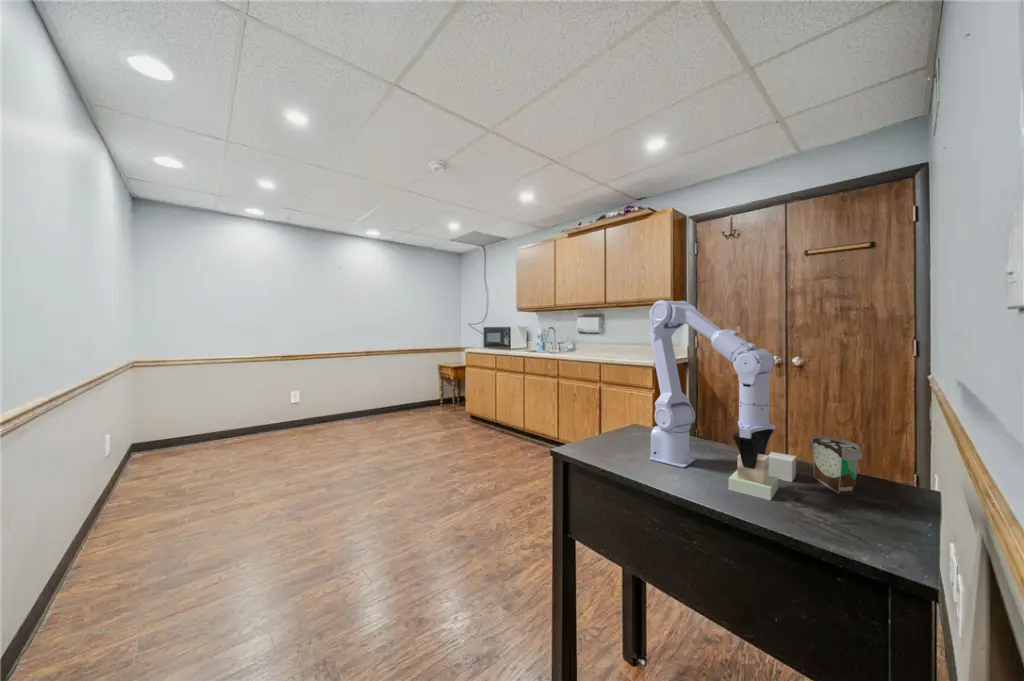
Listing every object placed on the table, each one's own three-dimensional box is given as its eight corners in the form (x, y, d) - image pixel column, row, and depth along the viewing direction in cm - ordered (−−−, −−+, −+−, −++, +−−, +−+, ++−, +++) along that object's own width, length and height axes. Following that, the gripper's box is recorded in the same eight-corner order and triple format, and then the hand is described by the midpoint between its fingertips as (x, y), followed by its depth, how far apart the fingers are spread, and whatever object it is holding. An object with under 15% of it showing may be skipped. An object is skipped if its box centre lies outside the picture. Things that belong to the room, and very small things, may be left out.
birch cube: (737, 478, 85) (737, 456, 85) (743, 471, 89) (743, 450, 89) (763, 484, 82) (763, 461, 82) (768, 477, 86) (768, 455, 85)
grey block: (766, 476, 93) (766, 456, 92) (771, 471, 96) (771, 451, 96) (791, 482, 89) (792, 461, 89) (795, 476, 93) (795, 456, 92)
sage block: (728, 491, 86) (728, 478, 85) (738, 480, 91) (738, 468, 91) (770, 502, 80) (770, 488, 80) (778, 490, 86) (778, 477, 86)
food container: (877, 499, 80) (878, 452, 79) (843, 497, 81) (844, 451, 80) (839, 476, 92) (839, 436, 91) (810, 475, 93) (810, 435, 93)
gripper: (767, 411, 77) (767, 476, 77) (781, 400, 87) (781, 459, 88) (728, 406, 82) (728, 468, 82) (746, 397, 92) (746, 452, 93)
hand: (753, 463), depth 85 cm, fingers open, 7 cm apart
